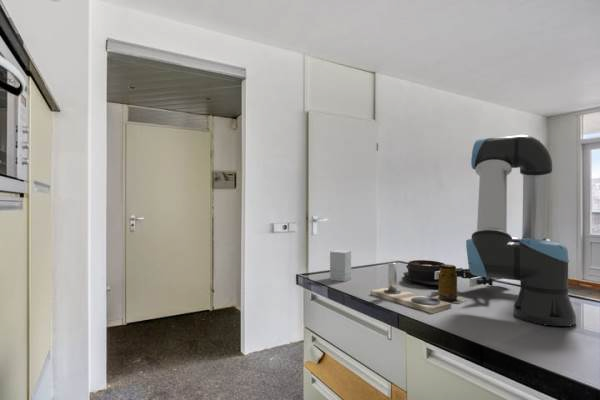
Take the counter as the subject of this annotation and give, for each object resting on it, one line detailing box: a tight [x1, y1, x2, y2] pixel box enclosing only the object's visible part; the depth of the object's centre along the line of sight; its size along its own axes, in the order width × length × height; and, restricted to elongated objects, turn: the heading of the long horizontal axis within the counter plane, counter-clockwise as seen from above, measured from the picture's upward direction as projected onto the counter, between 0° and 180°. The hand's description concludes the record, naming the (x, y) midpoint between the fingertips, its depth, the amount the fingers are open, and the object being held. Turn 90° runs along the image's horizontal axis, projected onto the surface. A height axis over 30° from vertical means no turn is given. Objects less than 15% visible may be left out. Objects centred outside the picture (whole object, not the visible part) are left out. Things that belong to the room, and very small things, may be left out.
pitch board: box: [370, 286, 452, 314], centre depth 119 cm, size 26×10×2 cm, turn 34°
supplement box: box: [329, 249, 352, 282], centre depth 152 cm, size 7×7×13 cm
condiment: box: [434, 263, 466, 304], centre depth 121 cm, size 7×8×12 cm
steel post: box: [387, 262, 398, 293], centre depth 125 cm, size 3×3×12 cm
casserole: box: [402, 259, 445, 286], centre depth 148 cm, size 25×19×8 cm
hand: (452, 278), depth 123 cm, fingers open, 13 cm apart
